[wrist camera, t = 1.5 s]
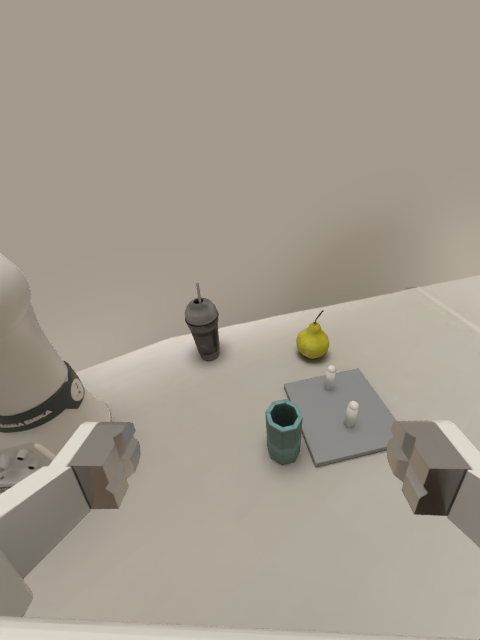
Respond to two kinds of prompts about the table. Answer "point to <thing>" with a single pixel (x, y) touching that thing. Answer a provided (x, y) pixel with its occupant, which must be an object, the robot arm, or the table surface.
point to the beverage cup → (203, 326)
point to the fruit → (313, 341)
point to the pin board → (341, 416)
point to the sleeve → (283, 431)
